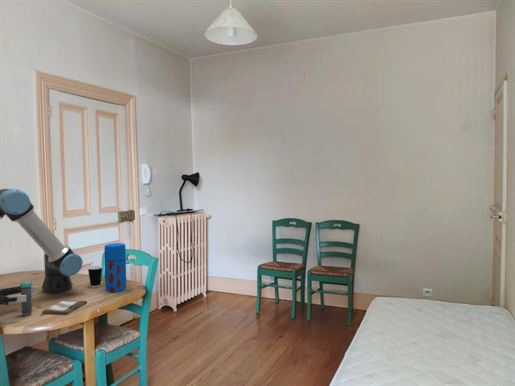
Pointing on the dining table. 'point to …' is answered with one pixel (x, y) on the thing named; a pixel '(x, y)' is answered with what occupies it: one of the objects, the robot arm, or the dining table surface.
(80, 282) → the dining table surface
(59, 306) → the brown picture frame
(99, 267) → the dixie cup
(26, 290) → the marker
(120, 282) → the thermos
